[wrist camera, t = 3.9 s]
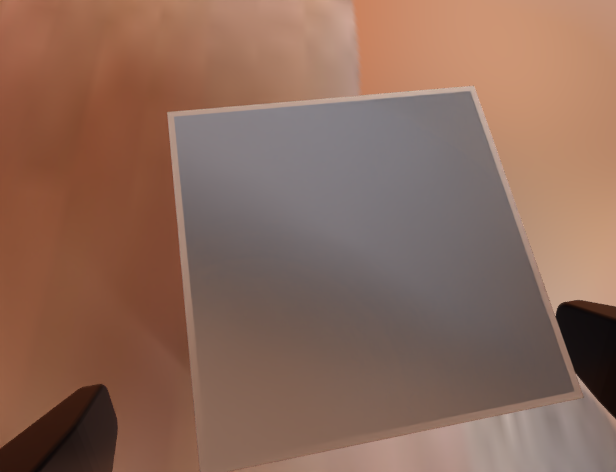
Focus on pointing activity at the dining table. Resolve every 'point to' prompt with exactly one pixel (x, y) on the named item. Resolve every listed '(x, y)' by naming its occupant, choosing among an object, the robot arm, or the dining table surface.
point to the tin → (354, 275)
